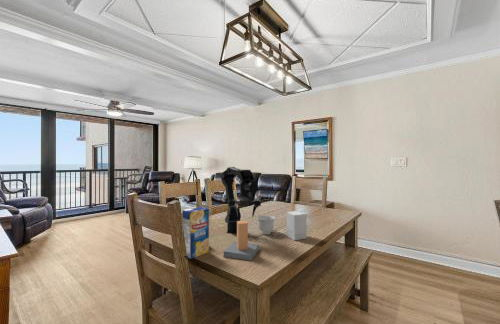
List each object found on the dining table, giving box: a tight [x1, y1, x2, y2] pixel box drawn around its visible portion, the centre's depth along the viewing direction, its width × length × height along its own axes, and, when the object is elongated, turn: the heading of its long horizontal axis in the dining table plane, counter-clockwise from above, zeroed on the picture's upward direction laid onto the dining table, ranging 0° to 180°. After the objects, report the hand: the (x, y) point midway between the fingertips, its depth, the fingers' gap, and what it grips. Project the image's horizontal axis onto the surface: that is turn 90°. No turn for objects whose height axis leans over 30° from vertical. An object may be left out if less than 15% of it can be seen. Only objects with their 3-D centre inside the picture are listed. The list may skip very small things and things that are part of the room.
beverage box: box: [182, 206, 210, 259], centre depth 115 cm, size 7×11×22 cm, turn 138°
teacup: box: [256, 214, 276, 235], centre depth 149 cm, size 12×15×10 cm
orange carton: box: [236, 220, 249, 250], centre depth 116 cm, size 5×5×13 cm
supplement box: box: [286, 210, 308, 241], centre depth 139 cm, size 9×9×15 cm
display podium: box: [223, 241, 260, 261], centre depth 116 cm, size 14×14×2 cm
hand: (244, 217), depth 135 cm, fingers open, 9 cm apart
